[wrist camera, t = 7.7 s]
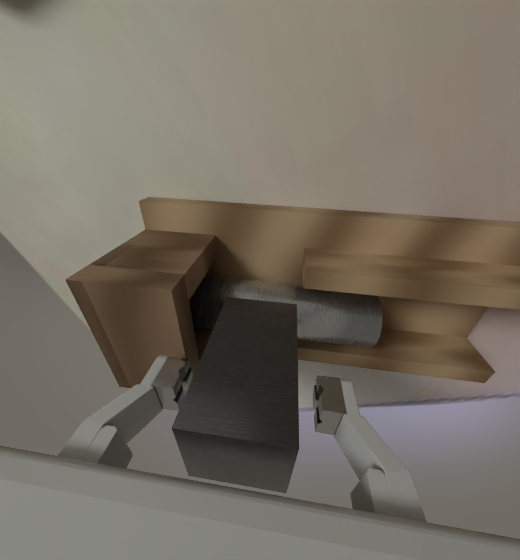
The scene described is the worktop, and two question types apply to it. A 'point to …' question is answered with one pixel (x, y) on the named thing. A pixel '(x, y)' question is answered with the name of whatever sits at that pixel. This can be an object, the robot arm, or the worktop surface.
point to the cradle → (304, 281)
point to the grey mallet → (259, 374)
